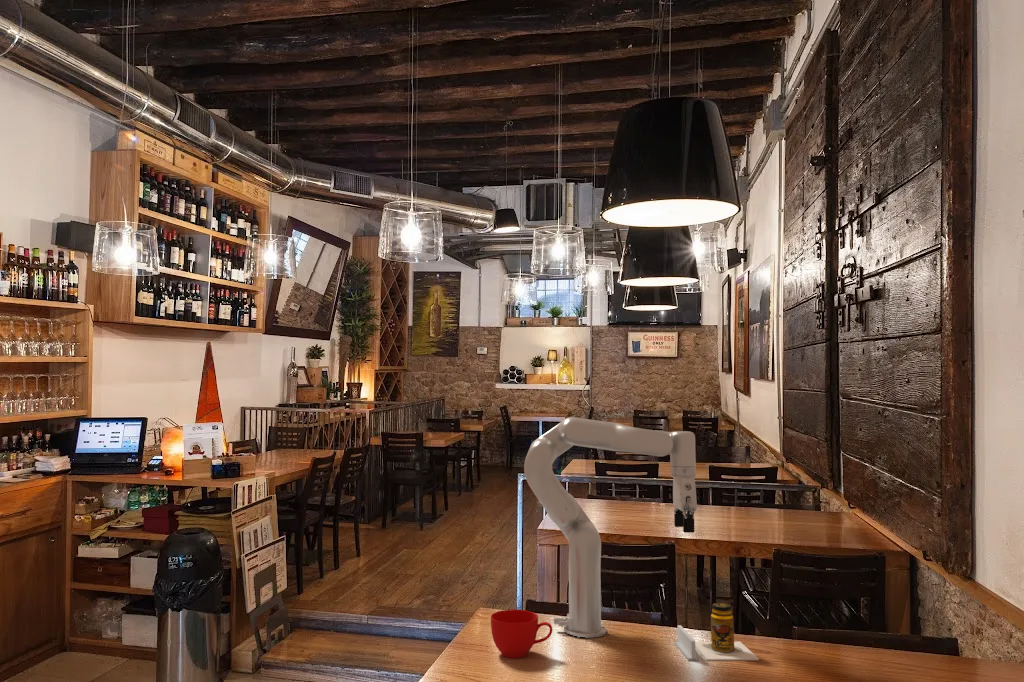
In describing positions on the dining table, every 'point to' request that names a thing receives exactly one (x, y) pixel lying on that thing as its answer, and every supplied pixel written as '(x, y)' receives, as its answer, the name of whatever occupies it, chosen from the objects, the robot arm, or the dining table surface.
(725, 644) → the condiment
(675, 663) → the dining table surface
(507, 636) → the ceramic cup
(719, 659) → the pad
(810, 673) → the dining table surface
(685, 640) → the low wall
